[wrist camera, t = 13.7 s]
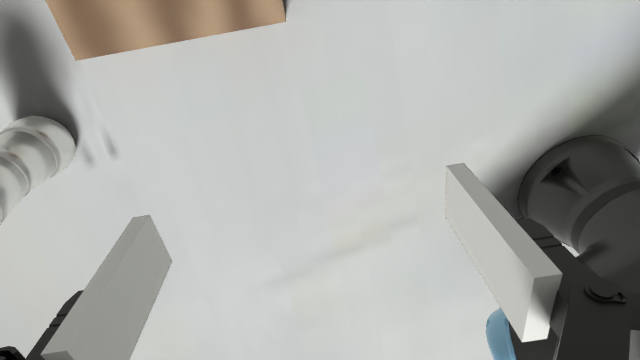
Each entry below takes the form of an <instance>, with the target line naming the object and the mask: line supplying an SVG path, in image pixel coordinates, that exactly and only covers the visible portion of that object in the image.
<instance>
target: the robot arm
mask: <svg viewBox="0 0 640 360" xmlns="http://www.w3.org/2000/svg"><path fill="white" fill-rule="evenodd" d="M518 205H519V209H520V211H521V213H522V215H523V216H524V218H525V219H521V220H514V218H513V217H512V216H511V215H510V214H509V213H508V212H507V211H506V209H505V208H504V207H503V206H502V205H501V204H500V203H499V202H498V200H497V199H496V198H495V197H494V196H493V195H492V194H491V193H490V191H489V190H488V189H487V188H486V187H485V186H484V185H483V184H482V183H481V181H480V180H479V179H478V178H477V177H476V176H475V175H474V174H473V172H472V171H471V170H470V169H469V168H468V167H467V166H466V165H465V163H460V164H454V165H448V166H446V209H445V218H446V219H447V221H448V222H449V224H450V226H451V227H452V229H453V231H454V232H455V234H456V236H457V237H458V239H459V240H460V242H461V244H462V245H463V247H464V249H465V250H466V252H467V253H468V255H469V257H470V258H471V260H472V262H473V263H474V265H475V267H476V268H477V270H478V271H479V273H480V275H481V276H482V278H483V280H484V281H485V283H486V284H487V286H488V288H489V289H490V291H491V293H492V294H493V296H494V298H495V299H496V301H497V302H498V304H499V306H500V308H499V309H497V310H496V311H495V312H493V313H492V314H491V315H490V316H489V318H488V320H487V325H486V336H487V341H488V345H489V348H490V351H491V354H492V356H493V359H494V360H640V162H639V160H638V158H637V157H636V155H635V154H634V153H633V152H632V151H631V150H630V149H629V148H627V147H626V146H624V145H622V144H620V143H618V142H617V141H615V140H613V139H611V138H608V137H604V136H584V137H579V138H575V139H572V140H570V141H567V142H565V143H563V144H561V145H559V146H557V147H555V148H554V149H552V150H550V151H549V152H548V153H546V154H545V155H544V156H543V157H541V158H540V159H539V160H538V161H537V162H536V163H535V164H534V165H533V167H532V168H531V169H530V170H529V172H528V173H527V175H526V176H525V178H524V180H523V182H522V184H521V187H520V190H519V195H518ZM561 242H562V243H564V244H566V245H568V246H570V247H572V248H574V249H575V250H576V251H577V252H578V253H579V254H580V255H579V256H577V257H576V258H575V257H574V256H573V255H572V254H571V253H570V252H569V251H568V250H567V249H566V248H565V247H564V246H562V243H561ZM171 263H172V260H171V258H170V256H169V254H168V252H167V249H166V247H165V245H164V243H163V241H162V239H161V237H160V235H159V233H158V231H157V229H156V227H155V225H154V222H153V220H152V218H151V216H150V215H146V216H140V217H134V218H132V220H131V221H130V223H129V224H128V226H127V227H126V229H125V230H124V232H123V233H122V235H121V236H120V238H119V239H118V241H117V242H116V243H115V245H114V246H113V248H112V249H111V251H110V252H109V254H108V255H107V257H106V258H105V260H104V261H103V263H102V264H101V266H100V267H99V269H98V270H97V272H96V273H95V275H94V276H93V278H92V279H91V280H90V282H89V283H88V285H87V286H86V288H85V289H84V290H82V291H78V292H77V293H76V294H74V295H73V296H72V297H71V298H70V299H69V300H68V301H67V302H66V303H65V304H64V305H63V307H62V308H61V309H60V311H59V312H58V314H57V315H56V316H57V317H56V318H54V319H53V321H52V322H51V324H50V325H49V328H47V329H46V331H45V332H44V333H43V335H42V336H41V338H40V339H39V341H38V342H37V343H36V345H35V346H34V348H33V349H32V350H31V352H30V353H29V355H28V356H27V358H26V359H25V358H24V357H23V355H22V354H21V353H20V352H19V351H18V350H17V349H16V348H15V347H10V346H7V347H3V348H0V360H130V357H131V355H132V353H133V350H134V348H135V346H136V343H137V341H138V339H139V337H140V334H141V332H142V330H143V327H144V325H145V323H146V320H147V318H148V316H149V314H150V311H151V309H152V307H153V304H154V302H155V300H156V297H157V295H158V293H159V291H160V288H161V286H162V284H163V281H164V279H165V277H166V275H167V272H168V270H169V268H170V265H171Z"/></svg>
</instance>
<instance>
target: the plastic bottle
mask: <svg viewBox="0 0 640 360" xmlns="http://www.w3.org/2000/svg"><path fill="white" fill-rule="evenodd" d="M74 156H75V144H74V140H73V138H72V136H71V134H70V133H69V131H68V130H67V129H66V128H65V127H64V126H63V125H61V124H60V123H58V122H56V121H54V120H52V119H49V118H46V117H42V116H29V117H25V118H21V119H18V120H15V121H14V122H12V123H11V124H9V125H8V126H7V127H6V128H5V129H4V130H3V131H2V132H1V133H0V225H1V223H2V222H3V221H4V220H5V218H6V217H7V216H8V214H9V213H10V212H11V211H12V209H13V208H14V207H15V206H16V205H17V204H18V203H19V202H20V201H21V200H22V199H23V198H24V197H25V196H26V195H27V194H28V193H29V192H30V191H31V190H32V189H34V188H35V187H37V186H38V185H40V184H41V183H42V182H44V181H45V180H47V179H49V178H51V177H54V176H55V175H57V174H58V173H60V172H62V171H63V170H65V169H66V168H67V167H68V166H69V164H70V163H71V161H72V160H73V158H74Z"/></svg>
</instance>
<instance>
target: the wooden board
mask: <svg viewBox="0 0 640 360" xmlns="http://www.w3.org/2000/svg"><path fill="white" fill-rule="evenodd" d="M46 2H47V4H48V6H49V8H50V10H51V12H52V14H53V16H54V18H55V20H56V22H57V24H58V26H59V28H60V30H61V32H62V34H63V36H64V38H65V40H66V42H67V44H68V46H69V48H70V50H71V52H72V54H73V56H74V58H75V60H76V61H77V60H82V59H87V58H93V57H98V56H104V55H109V54H114V53H120V52H125V51H131V50H136V49H141V48H147V47H152V46H157V45H163V44H168V43H174V42H179V41H184V40H190V39H195V38H200V37H206V36H211V35H217V34H222V33H227V32H233V31H238V30H244V29H249V28H254V27H260V26H265V25H270V24H276V23H281V22H286V14H285V9H284V4H283V0H46Z"/></svg>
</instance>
